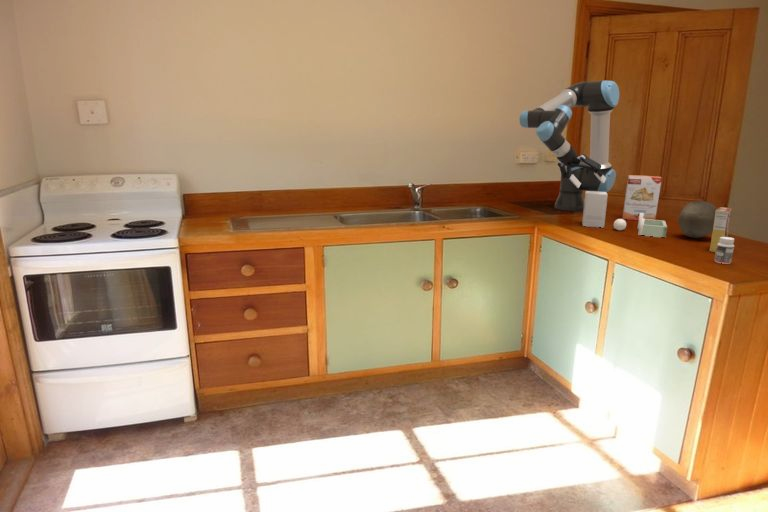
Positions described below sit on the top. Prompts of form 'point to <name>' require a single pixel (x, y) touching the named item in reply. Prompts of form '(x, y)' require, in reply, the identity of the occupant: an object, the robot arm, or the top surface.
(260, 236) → the top surface
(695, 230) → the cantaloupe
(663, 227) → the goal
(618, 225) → the ball
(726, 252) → the pill bottle
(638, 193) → the cracker box
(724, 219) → the candy box
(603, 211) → the supplement box
